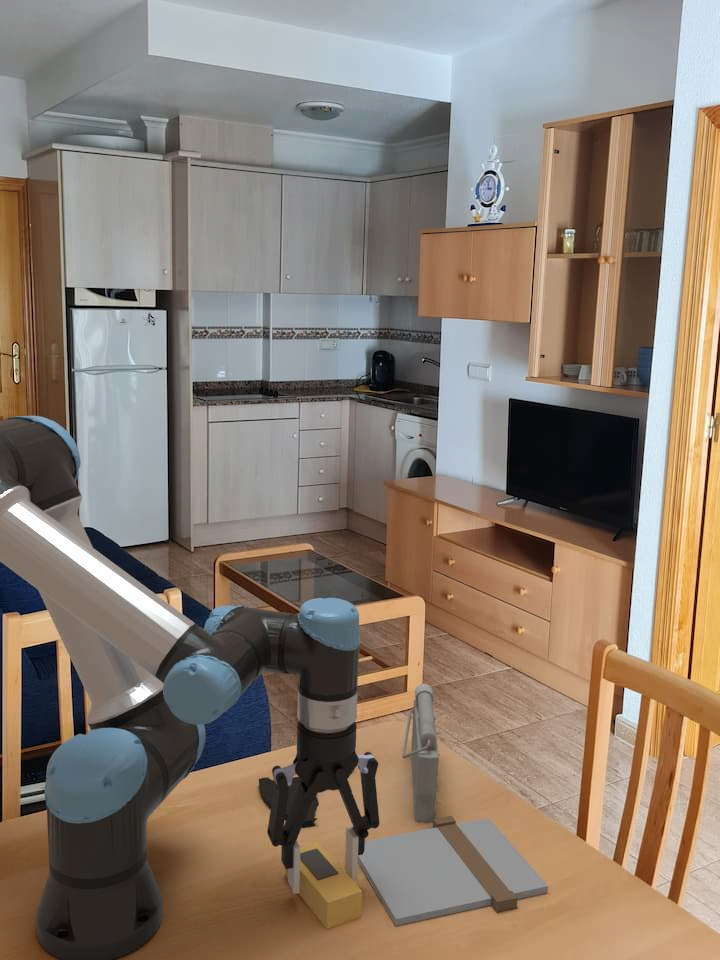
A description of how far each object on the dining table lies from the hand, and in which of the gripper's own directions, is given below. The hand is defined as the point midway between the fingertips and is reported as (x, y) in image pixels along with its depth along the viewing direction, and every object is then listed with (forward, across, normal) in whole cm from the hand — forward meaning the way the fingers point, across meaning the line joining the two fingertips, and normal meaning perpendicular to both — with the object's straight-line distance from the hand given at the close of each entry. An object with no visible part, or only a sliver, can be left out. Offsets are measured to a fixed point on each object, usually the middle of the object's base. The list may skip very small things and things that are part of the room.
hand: (322, 881), depth 125 cm
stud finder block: (+2, 0, 0) cm, 2 cm away
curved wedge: (+3, +2, +23) cm, 24 cm away
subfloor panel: (+2, +18, 0) cm, 18 cm away
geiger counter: (+2, +24, +24) cm, 34 cm away
